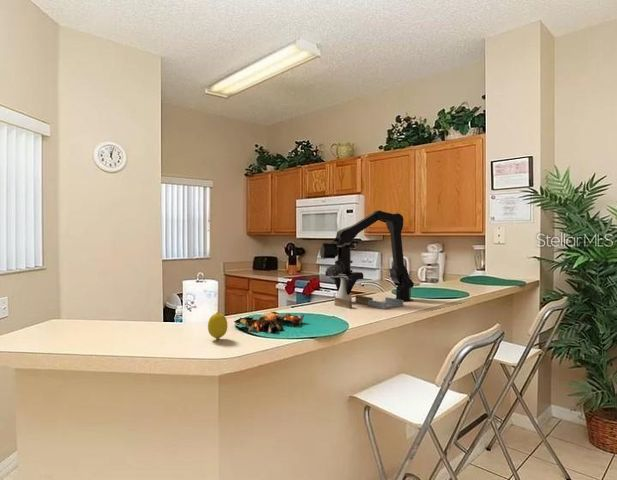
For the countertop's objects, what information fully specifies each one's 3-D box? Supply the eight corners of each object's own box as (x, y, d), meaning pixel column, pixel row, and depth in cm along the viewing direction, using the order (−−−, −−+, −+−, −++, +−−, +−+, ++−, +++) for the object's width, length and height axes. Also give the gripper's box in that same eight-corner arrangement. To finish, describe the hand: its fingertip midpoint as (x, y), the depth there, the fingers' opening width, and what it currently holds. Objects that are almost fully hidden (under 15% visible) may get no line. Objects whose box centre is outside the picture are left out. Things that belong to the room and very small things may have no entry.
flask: (351, 299, 179) (352, 276, 179) (352, 302, 172) (352, 278, 172) (335, 298, 180) (335, 276, 180) (335, 301, 173) (335, 278, 172)
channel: (357, 301, 179) (357, 295, 179) (372, 304, 172) (372, 297, 172) (334, 305, 170) (334, 298, 170) (349, 308, 163) (349, 301, 163)
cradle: (386, 302, 177) (386, 297, 177) (403, 306, 170) (403, 300, 170) (368, 305, 169) (368, 299, 169) (384, 309, 162) (384, 303, 162)
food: (271, 337, 121) (271, 325, 121) (226, 329, 131) (226, 318, 131) (310, 323, 139) (310, 313, 139) (268, 317, 149) (268, 308, 149)
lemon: (219, 336, 120) (219, 309, 120) (231, 339, 116) (231, 312, 116) (203, 339, 116) (203, 312, 115) (215, 343, 112) (215, 315, 112)
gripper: (316, 257, 178) (316, 292, 178) (345, 260, 163) (345, 298, 164) (334, 256, 185) (334, 290, 185) (364, 259, 170) (364, 296, 171)
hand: (343, 293), depth 176 cm, fingers closed on flask, 5 cm apart
